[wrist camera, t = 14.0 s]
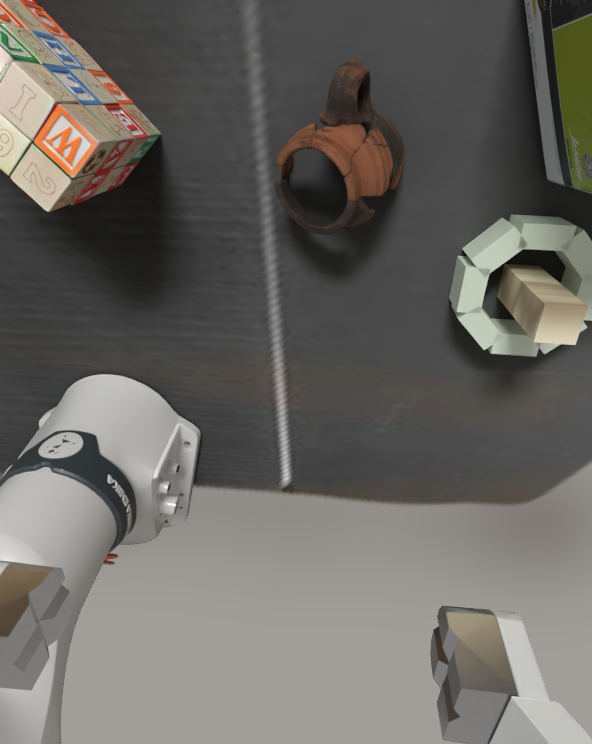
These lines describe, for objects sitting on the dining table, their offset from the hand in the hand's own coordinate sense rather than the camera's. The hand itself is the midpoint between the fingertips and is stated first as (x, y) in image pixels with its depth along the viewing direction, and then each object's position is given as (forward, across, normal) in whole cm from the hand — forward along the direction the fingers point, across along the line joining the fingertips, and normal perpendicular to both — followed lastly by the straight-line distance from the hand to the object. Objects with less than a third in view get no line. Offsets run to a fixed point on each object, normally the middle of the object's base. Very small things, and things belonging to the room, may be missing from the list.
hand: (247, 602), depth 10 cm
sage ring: (+37, -18, +4) cm, 41 cm away
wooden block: (+37, -18, +4) cm, 41 cm away
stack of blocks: (+37, +24, -12) cm, 46 cm away
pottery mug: (+38, -1, -6) cm, 38 cm away
